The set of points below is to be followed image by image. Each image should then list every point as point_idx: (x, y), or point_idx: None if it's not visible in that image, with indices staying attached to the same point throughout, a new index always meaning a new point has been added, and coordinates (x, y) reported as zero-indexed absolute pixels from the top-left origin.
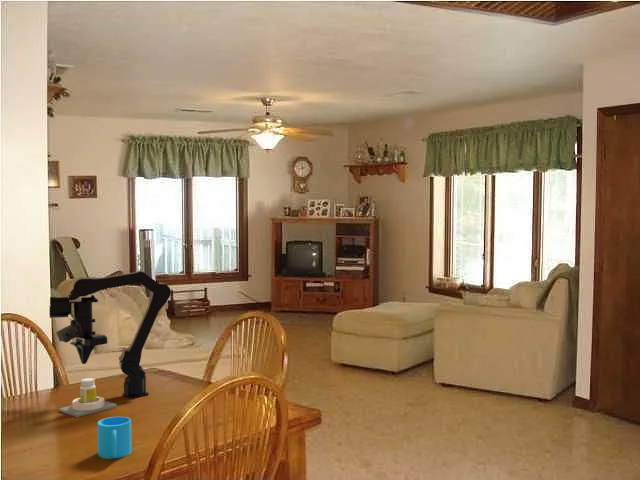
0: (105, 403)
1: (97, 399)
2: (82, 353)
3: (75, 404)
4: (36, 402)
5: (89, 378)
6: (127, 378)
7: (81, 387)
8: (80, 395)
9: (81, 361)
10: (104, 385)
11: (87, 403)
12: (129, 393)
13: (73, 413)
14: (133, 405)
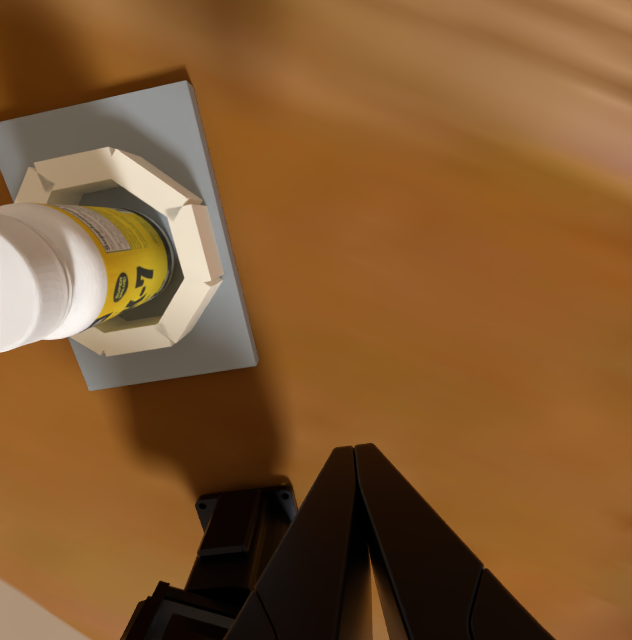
0: (138, 354)
1: (136, 325)
2: (257, 628)
3: (71, 157)
4: (524, 35)
5: (21, 326)
6: (216, 589)
7: (3, 209)
8: (70, 205)
9: (375, 460)
10: (555, 506)
11: None
12: (216, 507)
13: (19, 118)
14: (81, 448)
